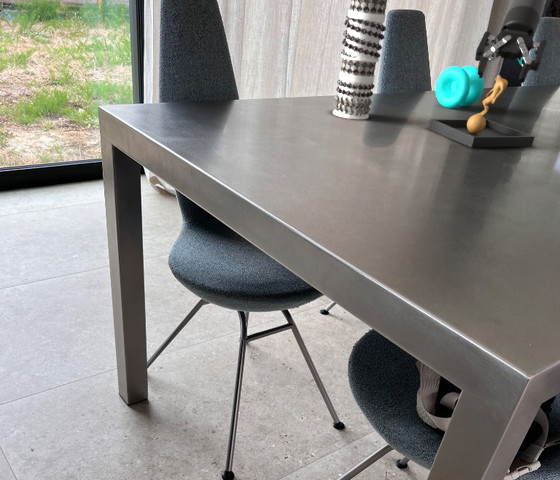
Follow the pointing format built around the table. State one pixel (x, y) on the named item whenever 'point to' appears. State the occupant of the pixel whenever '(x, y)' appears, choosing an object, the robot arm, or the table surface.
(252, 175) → the table surface
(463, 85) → the donuts
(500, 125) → the base pad
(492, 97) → the figurine
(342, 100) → the decorative candle
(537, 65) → the robot arm
